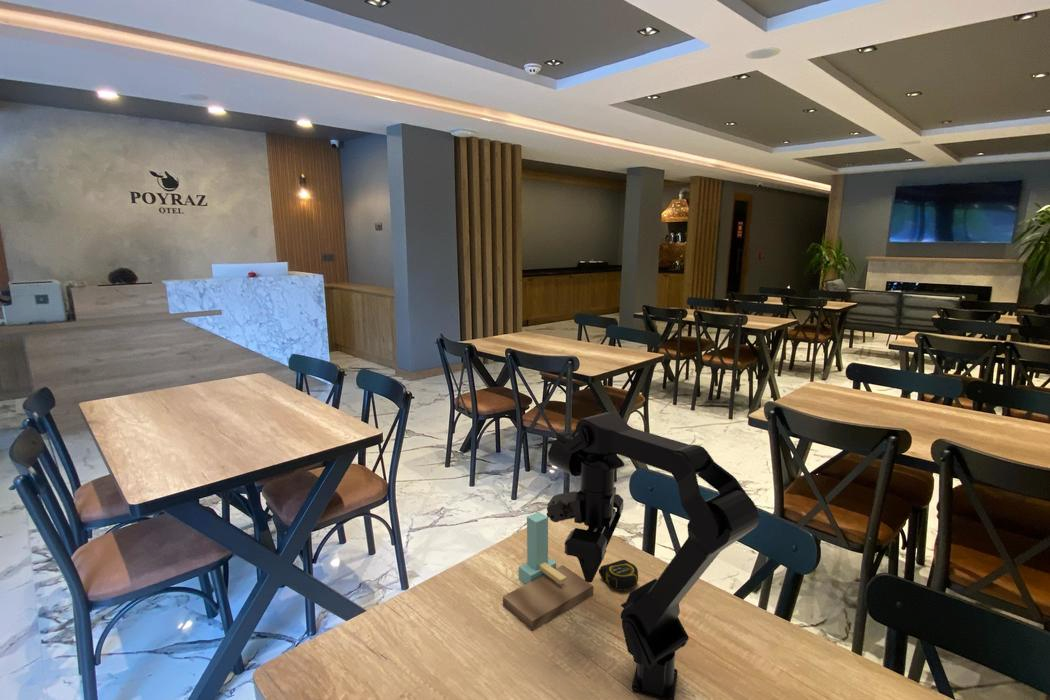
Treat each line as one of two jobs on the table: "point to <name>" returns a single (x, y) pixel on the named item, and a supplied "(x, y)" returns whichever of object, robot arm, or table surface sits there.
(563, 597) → the board
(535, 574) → the teal block tower
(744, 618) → the table surface
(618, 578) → the tape measure
